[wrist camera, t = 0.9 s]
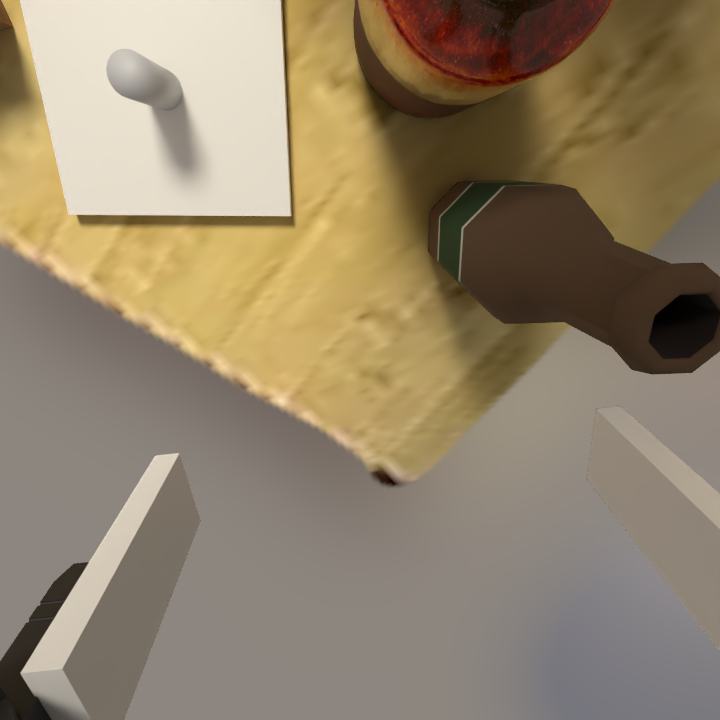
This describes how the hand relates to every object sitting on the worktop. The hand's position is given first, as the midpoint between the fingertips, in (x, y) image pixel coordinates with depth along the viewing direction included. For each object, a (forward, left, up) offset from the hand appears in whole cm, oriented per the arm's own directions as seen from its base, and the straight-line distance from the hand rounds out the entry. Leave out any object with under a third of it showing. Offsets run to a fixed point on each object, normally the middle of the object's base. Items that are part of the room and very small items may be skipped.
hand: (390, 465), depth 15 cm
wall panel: (-15, -13, -24) cm, 32 cm away
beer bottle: (-4, +9, -25) cm, 27 cm away
